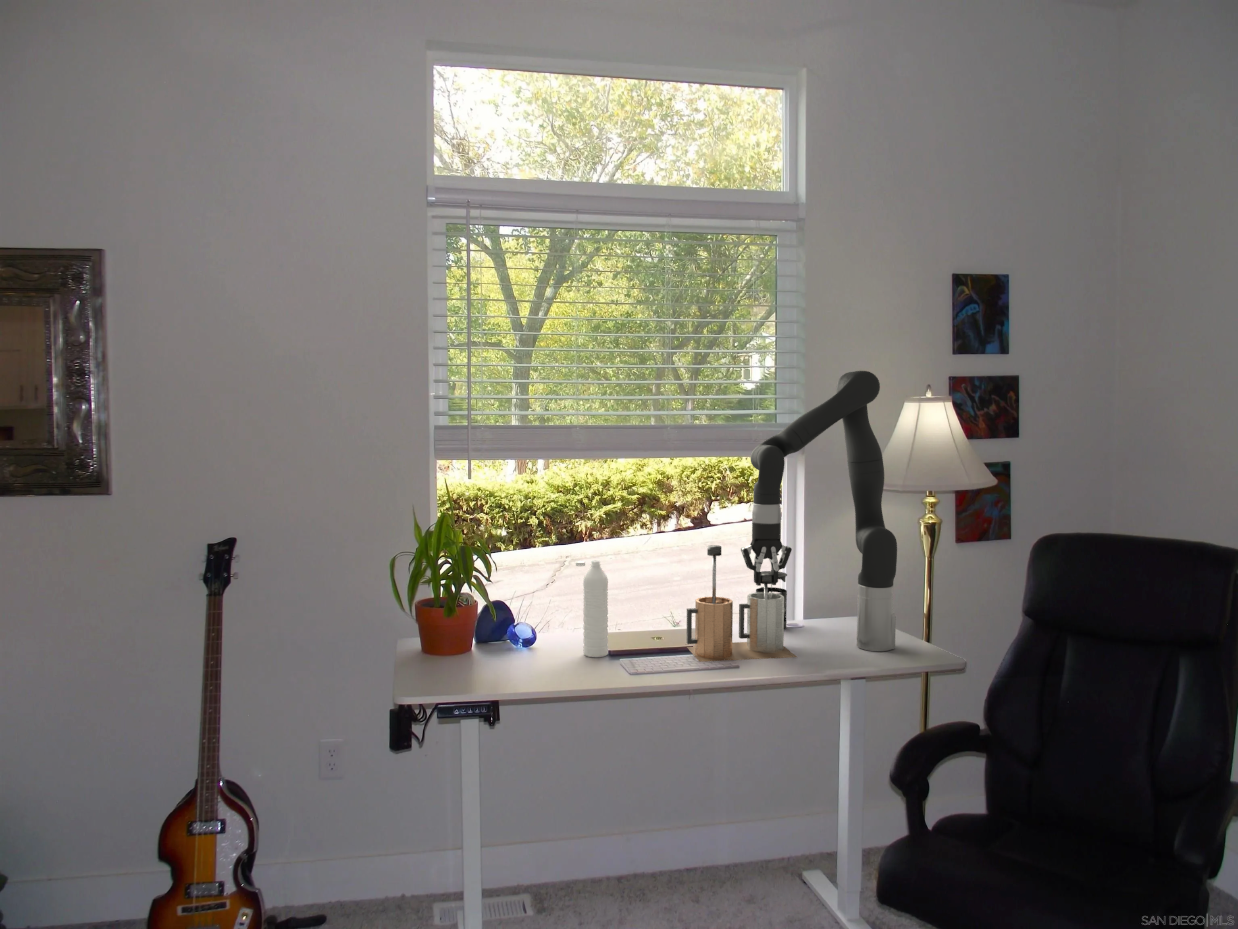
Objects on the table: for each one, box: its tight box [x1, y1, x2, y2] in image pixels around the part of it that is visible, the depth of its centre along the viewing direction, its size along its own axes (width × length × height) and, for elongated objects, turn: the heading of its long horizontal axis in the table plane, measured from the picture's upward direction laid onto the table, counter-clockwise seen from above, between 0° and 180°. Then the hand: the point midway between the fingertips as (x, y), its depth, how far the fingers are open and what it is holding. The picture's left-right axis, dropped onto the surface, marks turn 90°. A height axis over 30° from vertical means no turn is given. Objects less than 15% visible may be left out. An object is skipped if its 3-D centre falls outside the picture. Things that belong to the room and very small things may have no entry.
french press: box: [755, 553, 788, 630], centre depth 255 cm, size 12×9×23 cm
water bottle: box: [575, 560, 609, 658], centre depth 229 cm, size 9×6×25 cm
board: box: [686, 641, 798, 663], centre depth 230 cm, size 26×16×1 cm, turn 99°
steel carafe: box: [738, 592, 785, 653], centre depth 232 cm, size 12×9×14 cm
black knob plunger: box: [706, 544, 722, 604], centre depth 226 cm, size 7×7×16 cm
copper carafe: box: [686, 596, 734, 659], centre depth 226 cm, size 12×9×14 cm
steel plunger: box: [761, 573, 773, 599], centre depth 231 cm, size 7×7×16 cm
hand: (765, 584), depth 231 cm, fingers closed on steel plunger, 3 cm apart
